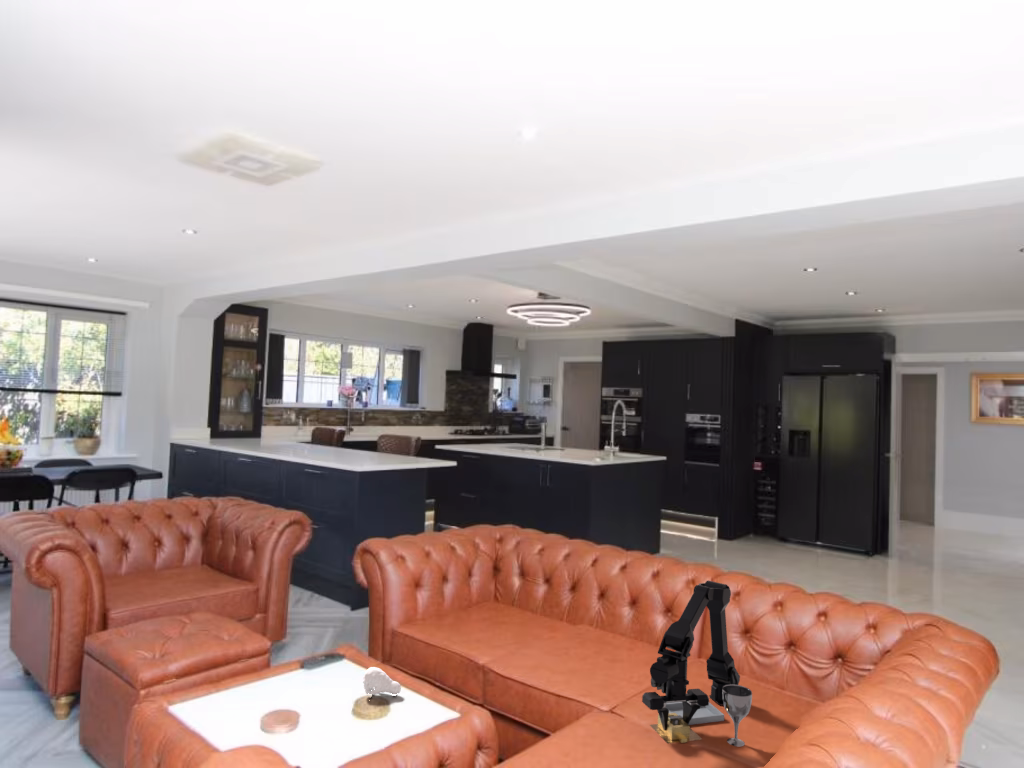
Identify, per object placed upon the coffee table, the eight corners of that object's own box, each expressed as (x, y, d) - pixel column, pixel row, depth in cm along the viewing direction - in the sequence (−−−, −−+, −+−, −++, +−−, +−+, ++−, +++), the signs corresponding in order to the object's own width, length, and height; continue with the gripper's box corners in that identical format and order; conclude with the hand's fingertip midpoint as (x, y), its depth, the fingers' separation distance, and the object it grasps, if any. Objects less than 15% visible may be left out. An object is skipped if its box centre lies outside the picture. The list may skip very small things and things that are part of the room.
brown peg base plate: (682, 722, 207) (683, 706, 207) (702, 740, 196) (702, 724, 196) (649, 726, 204) (649, 710, 204) (667, 745, 193) (668, 728, 193)
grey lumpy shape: (368, 662, 222) (405, 668, 221) (365, 689, 222) (401, 695, 221) (362, 670, 216) (400, 676, 215) (359, 697, 216) (396, 704, 215)
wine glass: (716, 736, 199) (718, 684, 199) (743, 736, 199) (745, 684, 199) (727, 751, 191) (729, 696, 191) (755, 750, 191) (757, 696, 191)
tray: (704, 705, 218) (704, 698, 218) (724, 722, 208) (724, 714, 208) (658, 710, 214) (658, 703, 214) (676, 727, 203) (676, 720, 203)
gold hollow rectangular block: (657, 726, 203) (658, 714, 203) (674, 724, 204) (675, 712, 204) (675, 743, 193) (675, 731, 193) (693, 741, 194) (693, 729, 194)
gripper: (690, 662, 210) (688, 714, 210) (634, 665, 205) (632, 718, 204) (710, 676, 199) (708, 731, 199) (652, 680, 194) (650, 736, 194)
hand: (674, 728), depth 199 cm, fingers open, 6 cm apart
